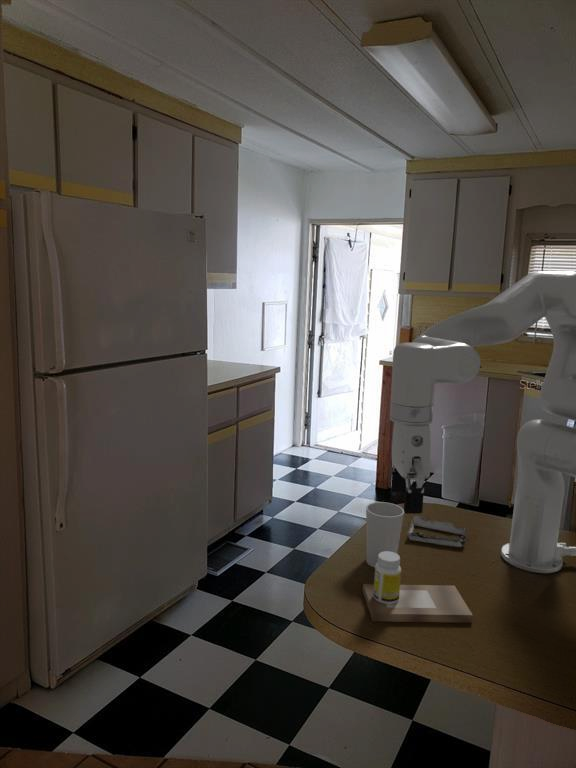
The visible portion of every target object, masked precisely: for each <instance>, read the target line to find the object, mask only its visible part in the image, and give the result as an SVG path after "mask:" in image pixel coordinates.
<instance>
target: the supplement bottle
mask: <svg viewBox="0 0 576 768" xmlns="http://www.w3.org/2000/svg"><path fill="white" fill-rule="evenodd" d="M400 565H401V557H400V555H399V554H398V553H397V554H396V553H394V552H389V551H384V552H381V553H379V555H378V563H377V564H376V566H375V568H374V577H373V578H374V580H373V584H374V593H373V596H374V598H375V600H377V601H378V602H380V603H383V604H394V603H396V602H397V601H398V600H399V594H400V585H401V579H402V568H401V566H400Z"/></svg>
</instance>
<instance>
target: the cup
mask: <svg viewBox="0 0 576 768" xmlns="http://www.w3.org/2000/svg"><path fill="white" fill-rule="evenodd" d="M404 515H405V512H404V508H402V507H401V506H400V505H397V504H395V503H392V502H391V503H390V502H385V501H376V502H371V503H369V504H367V505H366V506H365V516H366V517H365V519H366V521H365V523H366V527H365V528H366V530H365V532H366V559H365V560H366V563H367V565H369V566H370V567H373V568H374V569H375V566H376V564H377V563H378V555H379V553H381V552H384V551H389V552H394V553H396V554H398V552H399V551H398V550H399V545H400V537H401V532H402V528H403V527H402V526H403V521H404Z"/></svg>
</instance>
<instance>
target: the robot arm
mask: <svg viewBox="0 0 576 768" xmlns="http://www.w3.org/2000/svg"><path fill="white" fill-rule="evenodd" d="M543 318H545V320H546V322H547V325H548V326H549V329H550V331H551V332H550V333H552V338H553V339H552V340H553V349H552V353H551V357H550V360H549V363H548V367H547V370H546V372H545V376H544V379H543V382H542V384H541V388H540V392H539V398H538V404H539V406H540V409H542V410H543V411H544V412H546V413H547V414H550V415H552V416H555V417H559V418H563V419H565V420H570V421H573V422H576V271H560V270H559V271H553V270H552V271H551V270H544V271H543V270H542V271H541V270H539V271H534V272H532V273H531V272H530V273H529V274H527V275H525V276H523V277H522V278H521V279H519V280H518V281H517V282H515V283H514V284H512V285H511V286H510V287H508V288H507V289H506V290H503V292H501V293H500V294H498V295H497V296H495V297H494V298H492V299H491V300H490V301H488V302H487V303H485V304H483V305H480V306H477V307H473V308H470V309H468V310H466V311H463V312H460V313H457V314H454V315H452V316H449V317H447V318H444V319H442V320H440V321H438V322H436V323H435V324H433V325H431V326H430V327H429V328H427V329H426V330H424V331H423V332H422V333H420V334H419V335H417V337H416V338H415V339H414V340H413V341H411V342H402V343H398V344H397V345H396V346H395V347H394V349H393V352H392V354H393V355H392V368H391V369H392V370H391V372H392V373H391V389H390V405H389V406H390V409H389V420H390V421H391V422H393V430H392V439H391V441H392V442H391V462H392V467H391V468H392V471H391V486H390V487H391V489H390V491H391V492H392V493H404V497H403V498H404V499H403V500H404V501H403V510H404V514H409V515H411V514H412V515H413V514H414V515H415V514H416V515H417V514H418V515H420V514H422V513H423V509H424V507H423V506H424V493H425V485H426V484H425V480H427V479H429V478H430V476H431V475H430V474H431V430H430V425H431V424H432V423H433V419H434V418H433V416H434V415H433V413H434V403H435V402H434V401H435V398H434V397H435V389H436V388H435V387H436V384H447V385H461V384H466V383H467V382H470V381H472V380H473V379H474V378H476V376H477V374H478V373H479V370H480V368H481V357H480V354H479V353H478V351H477V350H476V349H475V347H482V346H483V347H484V346H485V347H487V346H493V345H494V346H495V345H499V344H505V343H509V342H511V341H513V340H515V339H516V338H518V337H519V336H521V334H524V333H525V332H526V331H527V330H528V329H529V328H531V327H532V326H533V325H535V324H536V323H538V322H539V321H540V320H541V319H543ZM516 453H517V462H518V463H517V467H518V468H517V478H516V479H517V481H516V488H515V496H514V504H513V511H512V512H513V513H512V519H511V529H510V536H509V542H508V543H505V544H503V545H502V546H501V548H500V549H501V552H500V555H501V557H502V559H503V560H504V561H505V562H507V563H508V564H509V565H511V566H513V567H515V568H518V569H520V570H523V571H527V572H530V573H531V572H532V573H538V574H552V573H555V572H558V571H560V570H561V569H562V568H563V564H564V563H563V559H562V558H563V557H565V556H573V557H574V556H575V557H576V546H567V543H566V542H558V539H559V532H560V527H561V526H560V525H561V518H562V511H563V510H562V509H563V502H564V497H565V481H564V480H565V479H564V477H563V474H565V475H569V476H571V477H575V478H576V428H575V427H573V426H568V425H566V424H562V423H559V422H556V421H553V420H552V421H551V420H547V419H540V418H539V419H531V420H529V421H526V422H525V423H524V424H523V425H522V426H521V427H520V429H519V431H518V433H517V436H516ZM411 481H412V483H411Z"/></svg>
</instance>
